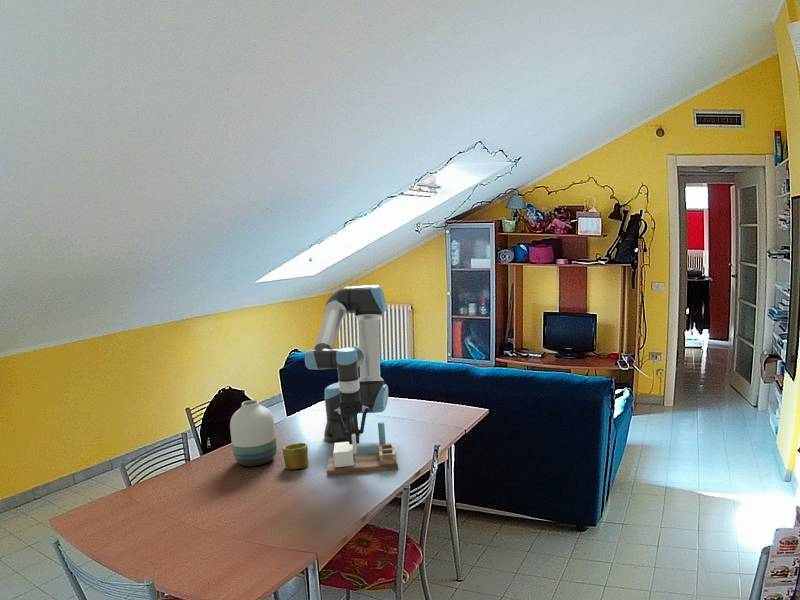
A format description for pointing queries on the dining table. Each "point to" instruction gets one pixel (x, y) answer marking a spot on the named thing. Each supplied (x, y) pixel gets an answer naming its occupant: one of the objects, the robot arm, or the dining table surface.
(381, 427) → the peg
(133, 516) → the dining table surface
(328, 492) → the dining table surface
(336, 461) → the cover
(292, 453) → the mug
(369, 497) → the dining table surface
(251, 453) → the vase
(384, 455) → the board
